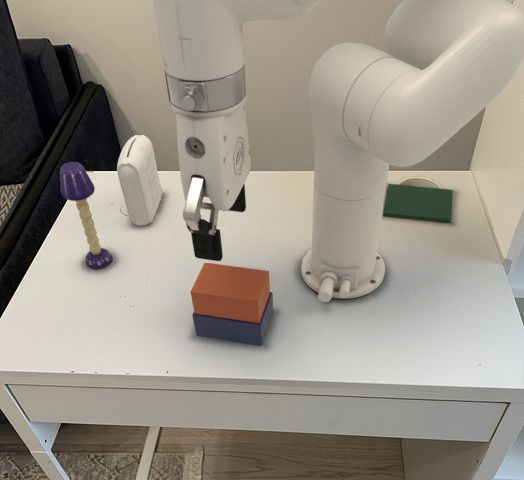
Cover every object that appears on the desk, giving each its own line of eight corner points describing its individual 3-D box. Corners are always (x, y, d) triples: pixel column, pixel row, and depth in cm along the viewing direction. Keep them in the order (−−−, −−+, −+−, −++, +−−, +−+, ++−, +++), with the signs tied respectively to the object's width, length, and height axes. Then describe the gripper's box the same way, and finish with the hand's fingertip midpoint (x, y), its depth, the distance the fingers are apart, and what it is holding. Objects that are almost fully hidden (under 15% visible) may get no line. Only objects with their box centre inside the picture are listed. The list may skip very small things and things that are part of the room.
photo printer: (142, 192, 100) (126, 127, 91) (165, 193, 100) (151, 127, 90) (128, 226, 93) (109, 160, 84) (152, 227, 93) (136, 160, 84)
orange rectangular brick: (259, 323, 71) (257, 301, 68) (194, 313, 73) (190, 291, 70) (270, 292, 75) (269, 270, 72) (208, 284, 77) (204, 262, 74)
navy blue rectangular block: (262, 345, 74) (260, 325, 71) (196, 335, 76) (192, 314, 73) (273, 312, 78) (272, 292, 75) (210, 303, 80) (207, 282, 77)
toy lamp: (111, 248, 90) (82, 154, 77) (120, 264, 87) (90, 169, 74) (83, 258, 88) (48, 163, 76) (90, 274, 85) (55, 179, 73)
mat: (450, 222, 90) (451, 219, 90) (383, 215, 92) (383, 212, 92) (451, 192, 96) (452, 189, 95) (388, 186, 98) (388, 183, 97)
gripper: (216, 131, 46) (231, 284, 59) (266, 53, 57) (269, 196, 70) (134, 123, 47) (166, 274, 60) (198, 49, 59) (213, 190, 71)
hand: (221, 232), depth 65 cm, fingers open, 9 cm apart
